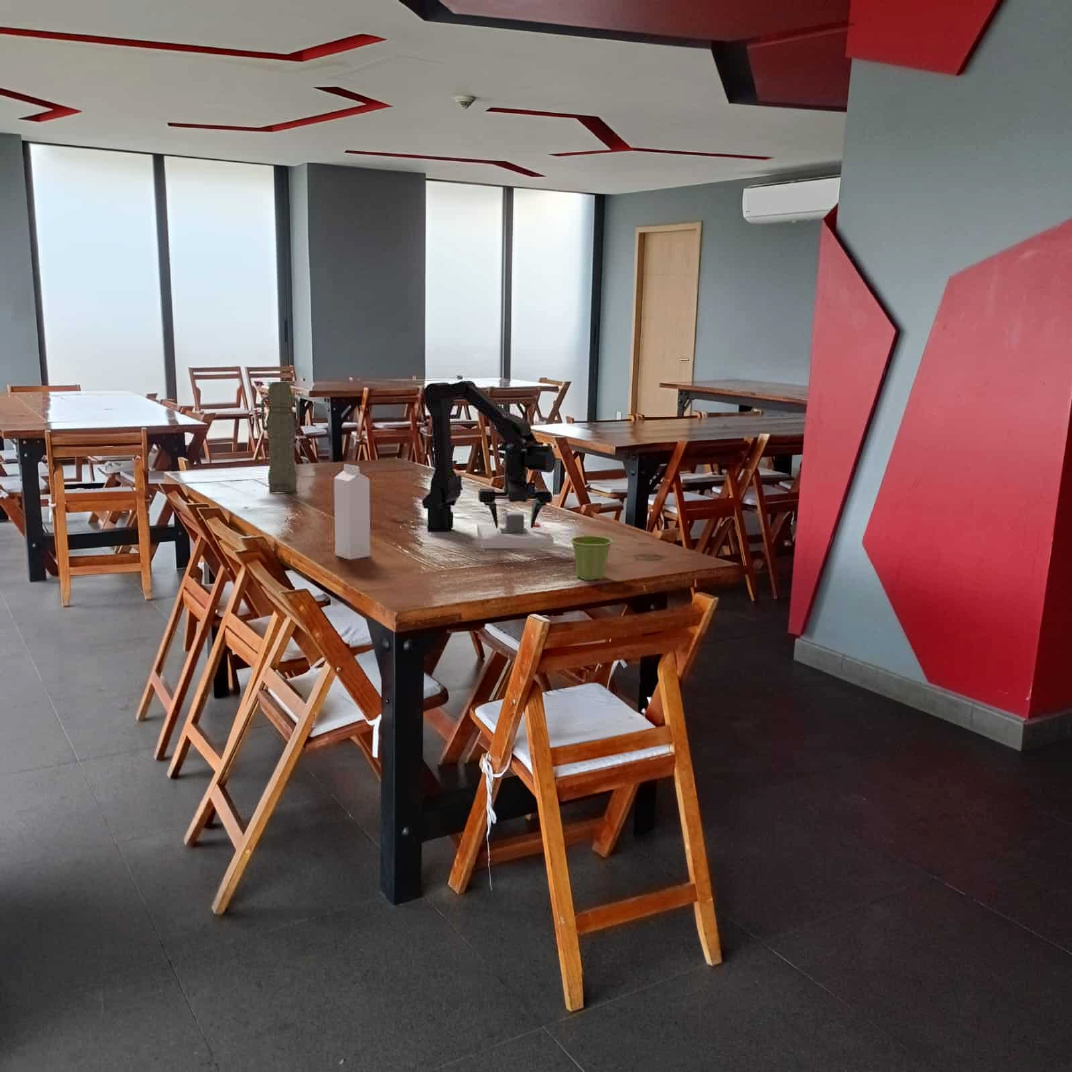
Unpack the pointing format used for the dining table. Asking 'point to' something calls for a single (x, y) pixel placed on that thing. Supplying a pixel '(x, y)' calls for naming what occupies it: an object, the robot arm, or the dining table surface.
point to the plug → (514, 523)
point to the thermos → (281, 436)
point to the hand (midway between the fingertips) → (514, 528)
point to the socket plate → (514, 537)
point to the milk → (352, 514)
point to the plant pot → (591, 556)
